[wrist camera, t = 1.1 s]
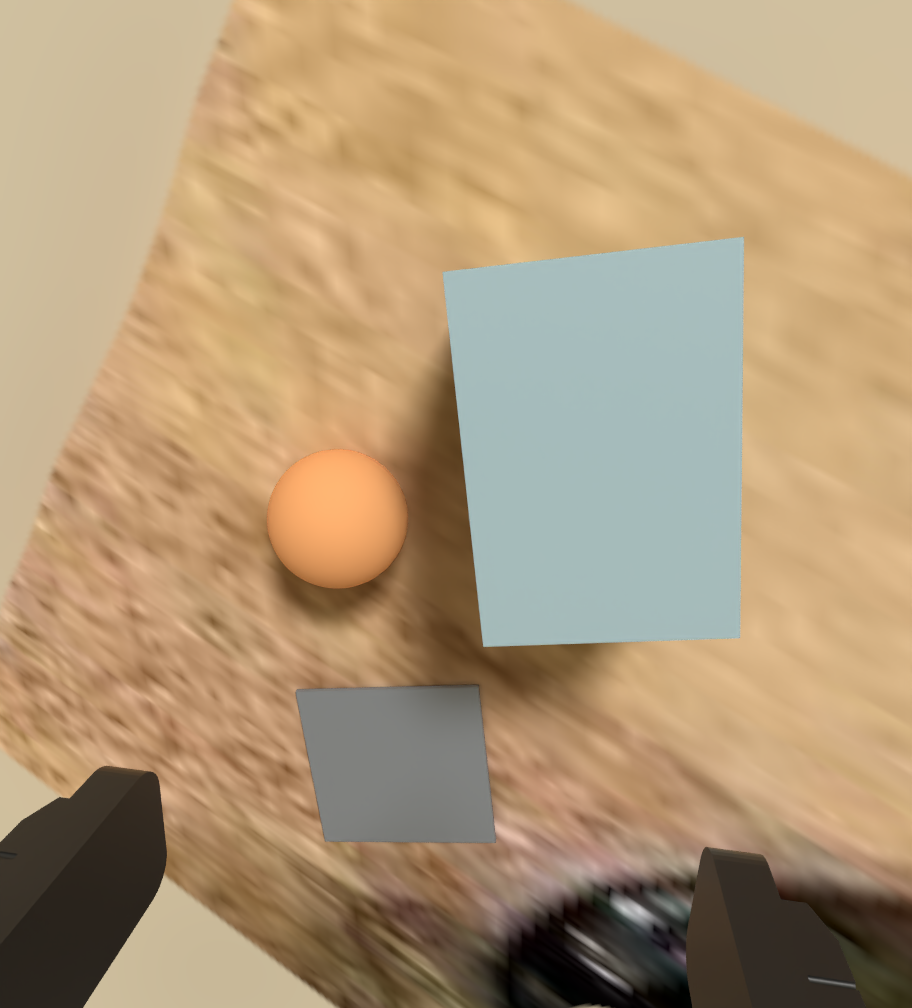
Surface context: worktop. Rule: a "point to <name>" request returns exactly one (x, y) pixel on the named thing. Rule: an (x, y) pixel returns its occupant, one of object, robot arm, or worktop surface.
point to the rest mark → (399, 763)
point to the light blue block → (603, 443)
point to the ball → (337, 518)
